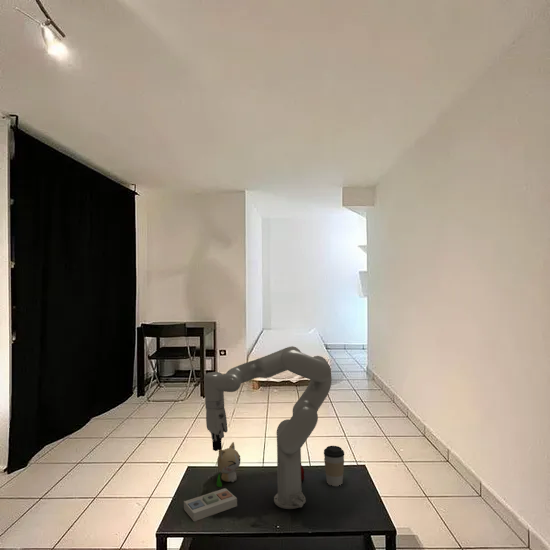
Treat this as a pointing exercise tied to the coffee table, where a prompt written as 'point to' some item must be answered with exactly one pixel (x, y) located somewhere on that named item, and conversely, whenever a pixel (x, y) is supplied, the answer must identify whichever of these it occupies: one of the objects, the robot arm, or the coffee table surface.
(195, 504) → the slate blue key
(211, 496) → the sage key
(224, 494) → the terracotta key
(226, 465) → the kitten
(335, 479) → the coffee cup
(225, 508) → the keypad
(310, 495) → the coffee table surface
